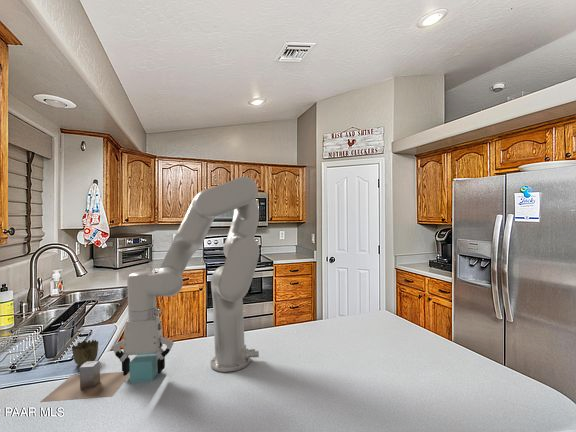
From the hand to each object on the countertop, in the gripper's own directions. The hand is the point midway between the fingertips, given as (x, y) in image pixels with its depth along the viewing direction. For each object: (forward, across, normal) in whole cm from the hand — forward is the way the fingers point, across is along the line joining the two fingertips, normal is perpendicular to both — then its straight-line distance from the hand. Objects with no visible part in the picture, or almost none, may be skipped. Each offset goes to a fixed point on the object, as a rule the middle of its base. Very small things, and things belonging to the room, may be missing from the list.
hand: (143, 372), depth 96 cm
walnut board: (+3, +14, +3) cm, 14 cm away
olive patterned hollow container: (+3, +23, -12) cm, 26 cm away
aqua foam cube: (+3, 0, 0) cm, 3 cm away
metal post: (+1, +14, +3) cm, 14 cm away
